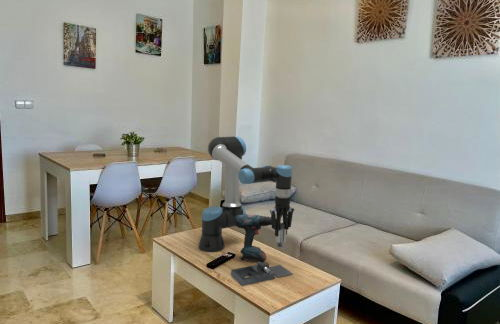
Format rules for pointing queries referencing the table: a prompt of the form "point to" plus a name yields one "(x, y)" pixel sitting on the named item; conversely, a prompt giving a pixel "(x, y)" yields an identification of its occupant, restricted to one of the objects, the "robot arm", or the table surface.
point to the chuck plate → (253, 274)
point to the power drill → (252, 236)
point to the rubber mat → (280, 271)
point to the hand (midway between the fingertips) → (280, 241)
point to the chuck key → (281, 234)
